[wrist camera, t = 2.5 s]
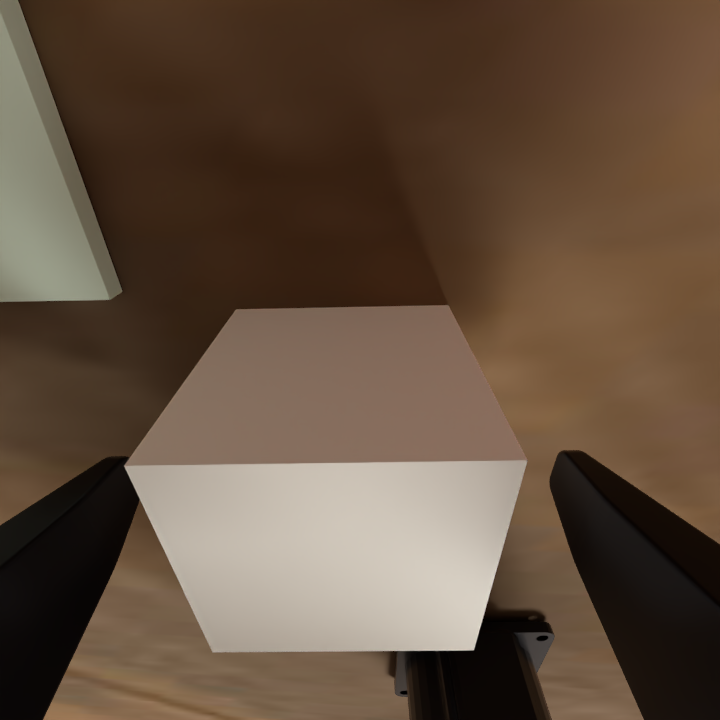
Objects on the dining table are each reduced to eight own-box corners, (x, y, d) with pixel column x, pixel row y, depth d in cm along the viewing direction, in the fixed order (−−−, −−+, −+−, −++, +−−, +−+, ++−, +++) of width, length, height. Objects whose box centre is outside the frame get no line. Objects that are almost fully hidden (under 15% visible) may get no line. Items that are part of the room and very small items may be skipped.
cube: (432, 457, 12) (473, 650, 7) (267, 460, 12) (212, 652, 7) (447, 303, 9) (527, 460, 5) (236, 307, 9) (124, 465, 5)
